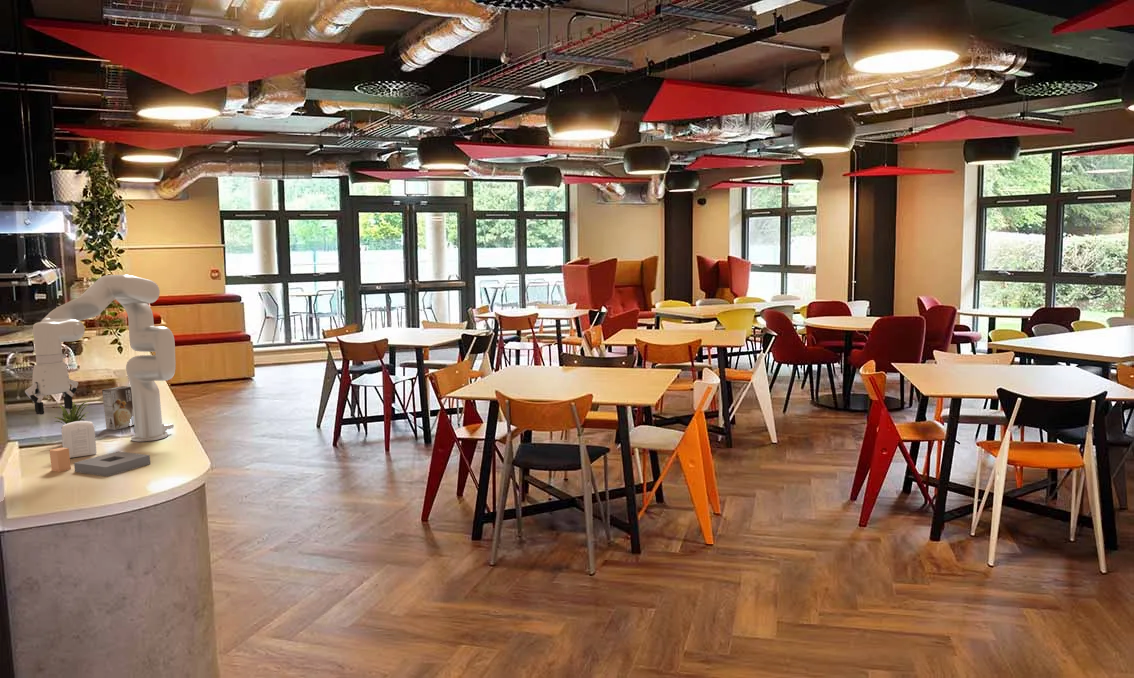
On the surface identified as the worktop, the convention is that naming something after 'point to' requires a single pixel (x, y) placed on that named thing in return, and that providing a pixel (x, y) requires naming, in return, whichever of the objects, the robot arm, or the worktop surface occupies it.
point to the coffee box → (117, 407)
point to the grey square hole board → (112, 463)
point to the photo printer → (79, 438)
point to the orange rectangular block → (60, 459)
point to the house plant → (71, 414)
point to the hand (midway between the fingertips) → (54, 411)
